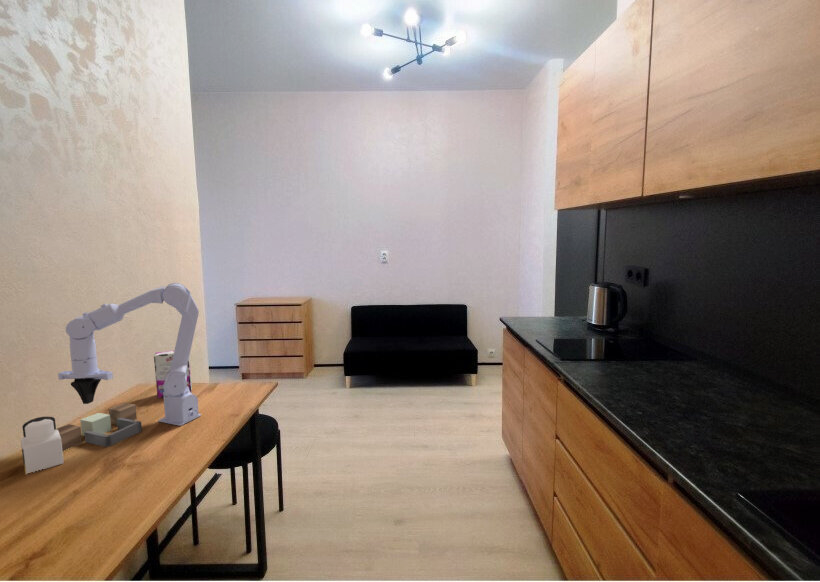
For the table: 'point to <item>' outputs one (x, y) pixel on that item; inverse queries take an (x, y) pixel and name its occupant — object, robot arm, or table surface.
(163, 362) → the candy bar box
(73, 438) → the walnut block
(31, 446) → the white handled block
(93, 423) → the sage block
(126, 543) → the table surface
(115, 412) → the walnut block
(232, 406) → the table surface
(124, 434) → the corral
